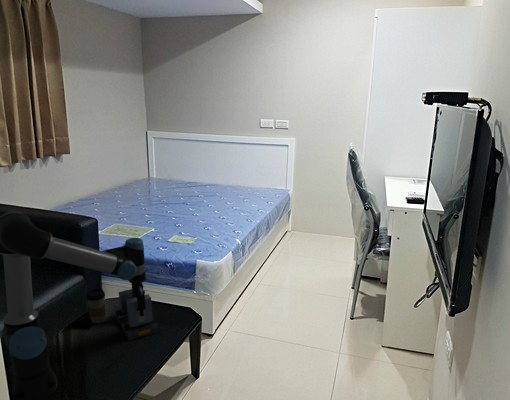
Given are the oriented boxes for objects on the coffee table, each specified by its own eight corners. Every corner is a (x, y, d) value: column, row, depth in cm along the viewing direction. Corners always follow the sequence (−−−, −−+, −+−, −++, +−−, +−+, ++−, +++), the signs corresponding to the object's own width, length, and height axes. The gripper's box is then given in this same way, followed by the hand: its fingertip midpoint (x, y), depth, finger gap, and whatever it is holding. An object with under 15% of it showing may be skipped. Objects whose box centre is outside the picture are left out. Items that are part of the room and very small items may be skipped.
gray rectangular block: (130, 327, 187) (128, 303, 184) (128, 323, 191) (126, 299, 187) (152, 321, 192) (151, 297, 189) (149, 317, 196) (148, 294, 192)
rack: (128, 341, 185) (126, 314, 181) (115, 315, 206) (112, 290, 202) (159, 332, 192) (157, 305, 188) (143, 307, 213) (141, 283, 209)
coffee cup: (93, 315, 205) (90, 287, 201) (110, 316, 205) (107, 288, 201) (86, 324, 197) (82, 296, 193) (103, 325, 197) (100, 296, 193)
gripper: (150, 277, 180) (154, 325, 186) (139, 263, 194) (142, 308, 200) (133, 281, 176) (137, 330, 182) (123, 267, 190) (127, 312, 196)
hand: (140, 318), depth 191 cm, fingers closed on gray rectangular block, 4 cm apart
